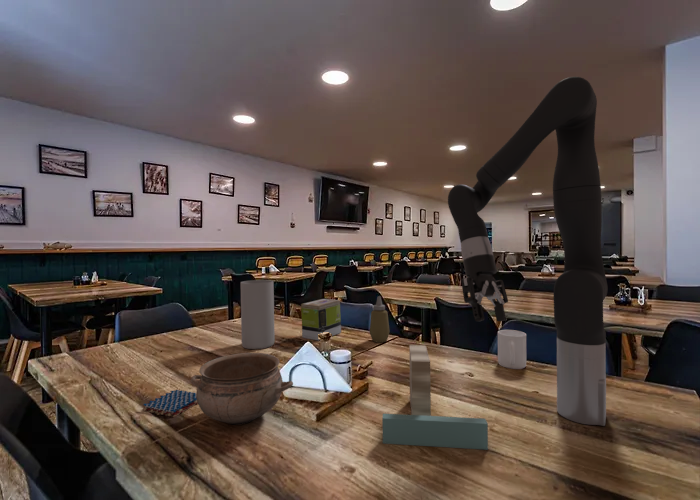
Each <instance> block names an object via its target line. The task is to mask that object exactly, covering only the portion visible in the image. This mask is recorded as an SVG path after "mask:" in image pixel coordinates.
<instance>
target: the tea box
mask: <svg viewBox="0 0 700 500" xmlns="http://www.w3.org/2000/svg"><path fill="white" fill-rule="evenodd" d="M300 306H301V307H300V311H301V334H302V335H301V336H302V337H301V338H303V339H308V340H312V341H319V339H318V334H320V333H323V332H329V333H331V334H332V336H336V335H338V334H341V333H342V318H341V315H342V314H341V300H338V299H328V298H321V299H317V300H313V301H308V302H304V303H301V304H300ZM332 336H331V337H332Z"/></svg>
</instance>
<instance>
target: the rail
mask: <svg viewBox="0 0 700 500" xmlns="http://www.w3.org/2000/svg"><path fill="white" fill-rule="evenodd" d="M381 424H382V426H381V427H382V428H381V429H382V444H389V445H405V446H421V447H422V446H424V447H436V448H437V447H438V448H451V449H452V448H453V449H455V448H456V449H469V450H470V449H471V450H487V451H488V450H489V433H488V432H489V431H488V430H489V428H488V427H489V423H488V421H487V420H486V418H481V417H478V418H477V417H460V416H459V417H457V416H439V415H431V416H423V415H411V414H399V413H382V422H381Z"/></svg>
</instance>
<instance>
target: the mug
mask: <svg viewBox="0 0 700 500" xmlns="http://www.w3.org/2000/svg"><path fill="white" fill-rule="evenodd" d="M497 363H498V364H499V365H500V366H501V367H503V368H506V369H511V370H521V369H525V367H526V366H527V333H525V332H523V331H521V330H514V329H501V330H498V331H497Z"/></svg>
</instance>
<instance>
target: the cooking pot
mask: <svg viewBox="0 0 700 500" xmlns="http://www.w3.org/2000/svg"><path fill="white" fill-rule="evenodd" d="M279 365H280V359H279V358H278V357H276V356H274V355H272V354H268V353H262V352H244V353H234V354H229V355H225V356H219V357H217V358H215V359H212V360H209V361H207V362H206V363H204V364H202V365H201V366H200V368H199V374H200V375H199V374H196V375H195V374H194V375H193V376H192V377H191V378H190V382H191V383H192V384H193V385H194V386H195V387H197V388H196V391H195V393H196V396H197V403H198V404H197V405H198V407H199V409H200V411H201V412H202V413H203V414H205V415H206V417H208V418H210V419H212V420H215V421H218V422H221V423H227V424H230V425H236V426H238V425H245V424H249V423H251V422H252V421H254V420H256V419H257V418H260V417H261V416H263V415H264V414H266V413H268V412H269V411H270V410H271V409H273V407H274V406H276V404H277V403H278V401H279V400H280V398H281V396H282V393H283V392H285V391H287V390H288V389H290V388H291V387H292V386H293V385H294V382H293V381H292V380H289V381H283V377H282V373H281V371H280V368H279V367H278V366H279ZM198 380H199V381H198Z"/></svg>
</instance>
